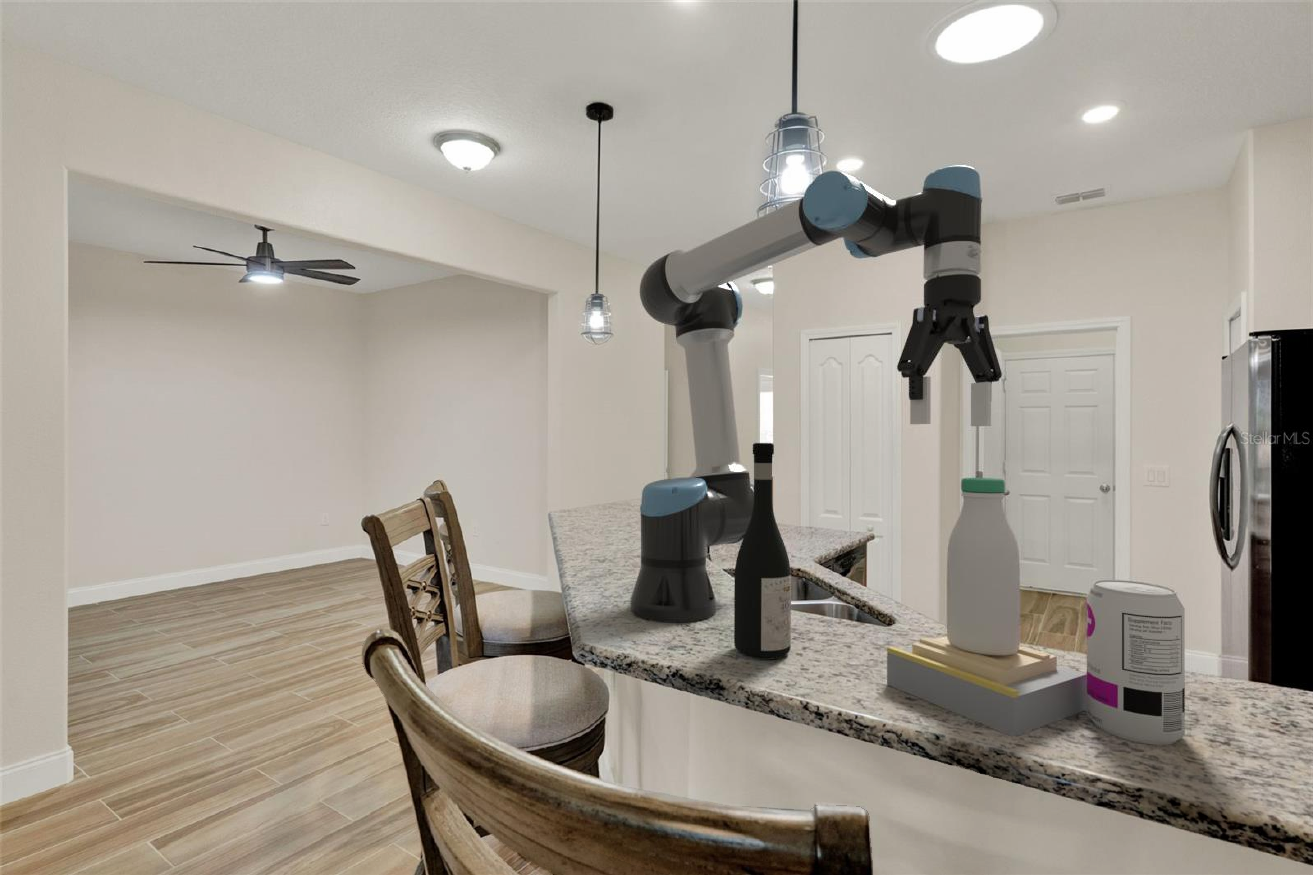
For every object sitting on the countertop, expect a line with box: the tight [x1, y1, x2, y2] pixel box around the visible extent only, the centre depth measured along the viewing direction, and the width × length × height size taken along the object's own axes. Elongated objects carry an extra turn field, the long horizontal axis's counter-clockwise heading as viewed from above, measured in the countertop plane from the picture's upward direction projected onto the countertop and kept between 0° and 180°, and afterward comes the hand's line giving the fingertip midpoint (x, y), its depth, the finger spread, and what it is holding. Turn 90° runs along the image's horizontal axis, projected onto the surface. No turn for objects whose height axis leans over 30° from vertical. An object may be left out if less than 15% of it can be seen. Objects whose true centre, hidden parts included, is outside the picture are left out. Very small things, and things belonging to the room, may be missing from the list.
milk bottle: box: [946, 477, 1021, 655], centre depth 75 cm, size 8×8×20 cm
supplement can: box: [1086, 579, 1186, 746], centre depth 66 cm, size 8×8×15 cm
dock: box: [886, 635, 1087, 738], centre depth 75 cm, size 16×14×6 cm
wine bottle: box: [733, 442, 792, 660], centre depth 90 cm, size 8×8×30 cm
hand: (951, 425), depth 91 cm, fingers open, 13 cm apart
